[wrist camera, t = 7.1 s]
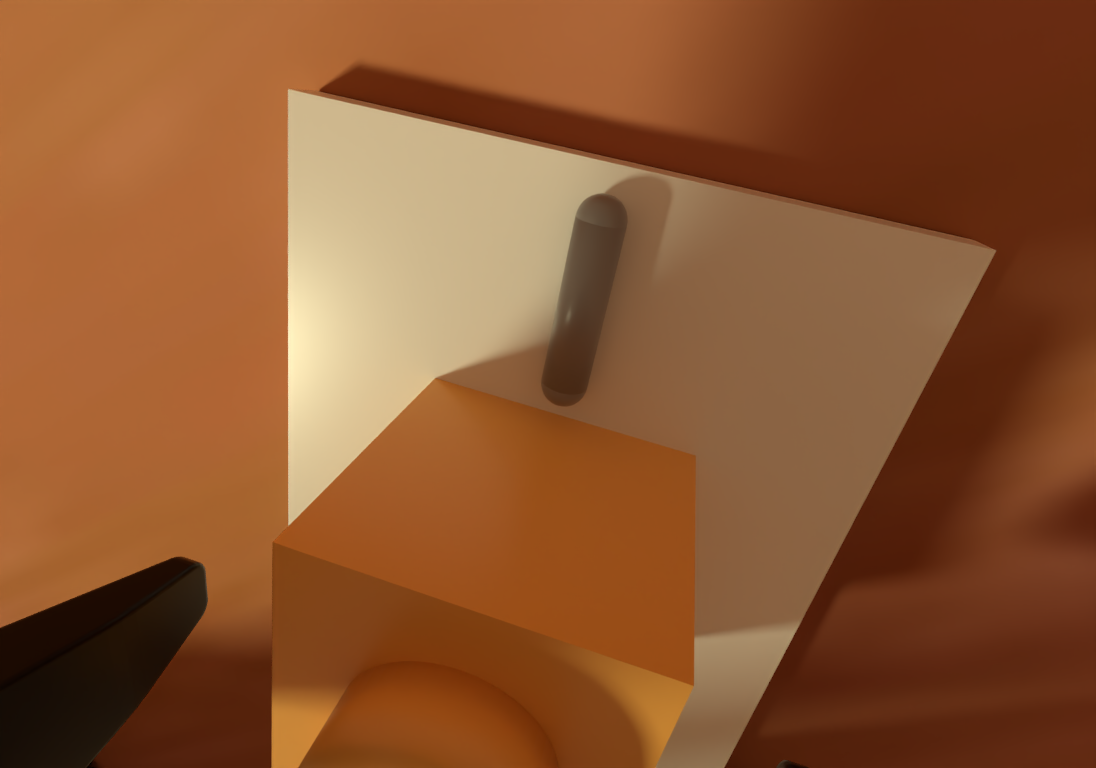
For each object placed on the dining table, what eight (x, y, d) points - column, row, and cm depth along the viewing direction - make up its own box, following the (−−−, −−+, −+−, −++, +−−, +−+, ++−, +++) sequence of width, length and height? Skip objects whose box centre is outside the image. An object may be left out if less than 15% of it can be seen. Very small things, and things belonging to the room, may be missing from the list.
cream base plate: (699, 781, 15) (700, 1023, 11) (305, 644, 17) (178, 817, 13) (974, 239, 9) (1192, 341, 5) (315, 90, 11) (72, 76, 6)
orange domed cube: (623, 646, 13) (571, 1015, 8) (408, 573, 14) (221, 870, 8) (695, 455, 11) (693, 788, 6) (435, 377, 11) (203, 611, 6)
